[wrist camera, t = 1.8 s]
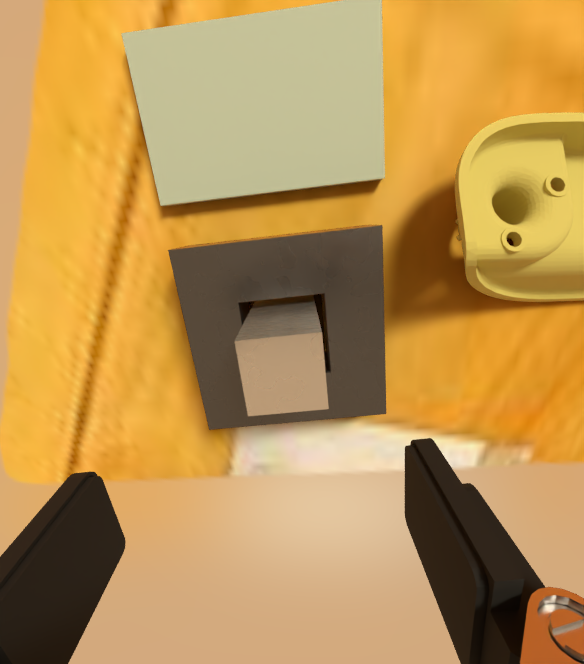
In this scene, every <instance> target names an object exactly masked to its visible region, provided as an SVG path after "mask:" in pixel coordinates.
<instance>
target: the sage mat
mask: <svg viewBox="0 0 584 664" xmlns="http://www.w3.org/2000/svg"><path fill="white" fill-rule="evenodd" d="M122 38H123V42H124V47H125V51H126V55H127V60H128V64H129V69H130V73H131V77H132V82H133V86H134V91H135V95H136V100H137V104H138V108H139V113H140V117H141V122H142V126H143V130H144V135H145V139H146V144H147V148H148V153H149V157H150V161H151V166H152V170H153V175H154V179H155V183H156V188H157V192H158V197H159V201H160V206H172V205H180V204H188V203H196V202H204V201H212V200H220V199H229V198H237V197H245V196H253V195H261V194H269V193H278V192H286V191H294V190H302V189H310V188H318V187H326V186H335V185H343V184H351V183H359V182H367V181H375V180H382V179H384V178H385V158H384V101H383V44H382V0H343V1H336V2H329V3H322V4H316V5H309V6H302V7H295V8H289V9H282V10H275V11H269V12H262V13H255V14H248V15H242V16H235V17H228V18H222V19H215V20H208V21H201V22H195V23H188V24H181V25H174V26H168V27H161V28H154V29H148V30H141V31H134V32H127V33H122Z"/></svg>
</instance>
